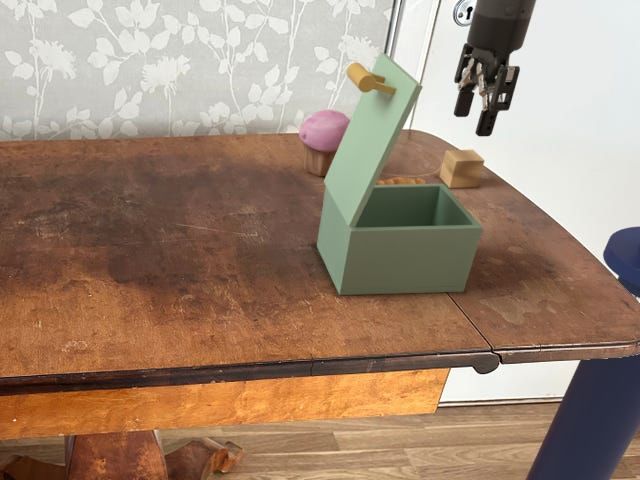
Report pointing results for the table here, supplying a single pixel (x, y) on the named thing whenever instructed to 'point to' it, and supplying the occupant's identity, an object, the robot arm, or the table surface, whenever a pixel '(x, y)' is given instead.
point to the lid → (370, 133)
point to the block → (461, 168)
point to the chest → (400, 242)
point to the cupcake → (322, 139)
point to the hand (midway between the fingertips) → (471, 125)
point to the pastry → (400, 181)
